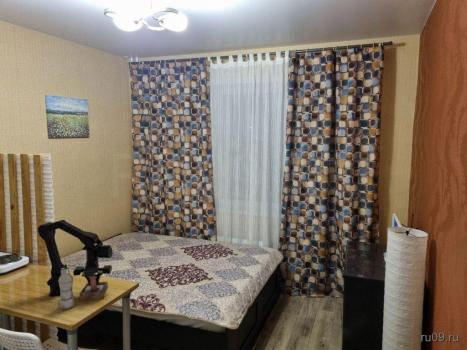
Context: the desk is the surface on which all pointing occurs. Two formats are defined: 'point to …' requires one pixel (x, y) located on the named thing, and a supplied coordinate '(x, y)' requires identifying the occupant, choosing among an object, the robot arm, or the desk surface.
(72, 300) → the plastic bottle
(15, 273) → the desk surface
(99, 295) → the square frame
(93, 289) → the peg
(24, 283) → the desk surface
